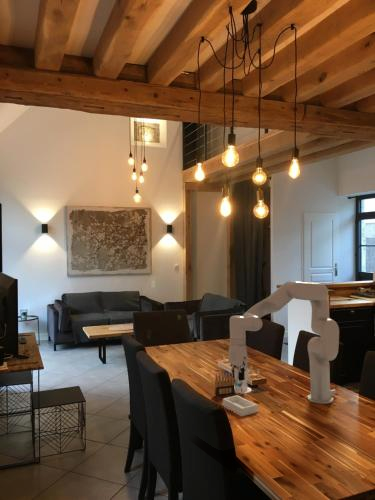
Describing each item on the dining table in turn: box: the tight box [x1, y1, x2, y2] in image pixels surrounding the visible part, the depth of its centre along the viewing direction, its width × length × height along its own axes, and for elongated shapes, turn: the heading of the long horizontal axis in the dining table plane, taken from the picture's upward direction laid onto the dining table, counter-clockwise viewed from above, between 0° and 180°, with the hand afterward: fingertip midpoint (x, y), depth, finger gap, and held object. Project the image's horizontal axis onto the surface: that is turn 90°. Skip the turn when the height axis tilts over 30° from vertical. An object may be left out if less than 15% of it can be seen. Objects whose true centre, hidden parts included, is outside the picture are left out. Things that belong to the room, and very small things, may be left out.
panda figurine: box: [231, 363, 253, 395], centre depth 236 cm, size 12×11×15 cm
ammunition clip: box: [214, 371, 236, 397], centre depth 228 cm, size 11×2×12 cm, turn 104°
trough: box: [221, 394, 259, 417], centre depth 208 cm, size 10×16×4 cm, turn 30°
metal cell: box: [234, 366, 243, 384], centre depth 208 cm, size 4×4×8 cm
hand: (238, 378), depth 208 cm, fingers closed on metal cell, 4 cm apart
